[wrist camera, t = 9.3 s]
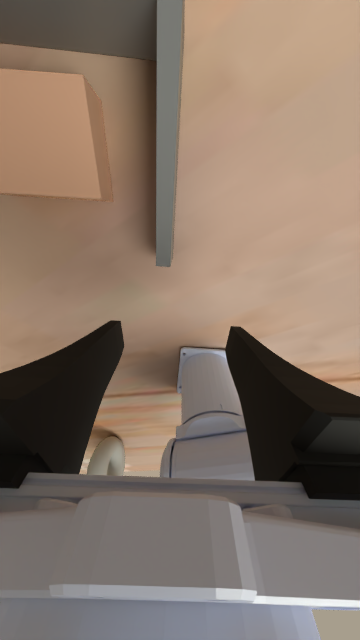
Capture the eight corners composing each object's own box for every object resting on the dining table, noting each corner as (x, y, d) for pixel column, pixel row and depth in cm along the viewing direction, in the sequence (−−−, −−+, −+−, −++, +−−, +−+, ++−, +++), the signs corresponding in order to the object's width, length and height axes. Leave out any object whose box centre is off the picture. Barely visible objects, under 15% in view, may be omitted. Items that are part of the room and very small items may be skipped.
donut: (98, 427, 35) (71, 495, 26) (114, 425, 35) (92, 494, 26) (117, 450, 40) (100, 513, 31) (131, 448, 40) (118, 512, 31)
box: (172, 257, 18) (170, 267, 14) (-31, 240, 17) (-84, 246, 14) (184, 32, 11) (185, -54, 7) (-157, -8, 10) (-328, -122, 7)
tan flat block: (114, 202, 16) (101, 199, 13) (15, 195, 16) (-18, 191, 13) (103, 103, 13) (82, 74, 10) (-21, 94, 12) (-74, 62, 10)
